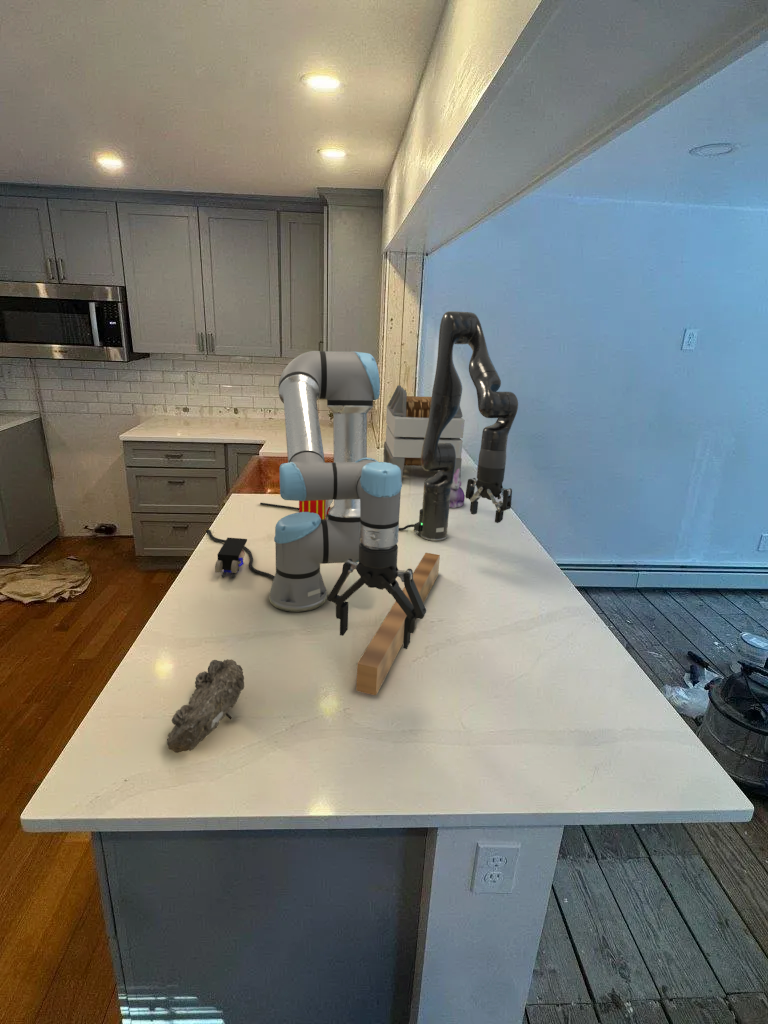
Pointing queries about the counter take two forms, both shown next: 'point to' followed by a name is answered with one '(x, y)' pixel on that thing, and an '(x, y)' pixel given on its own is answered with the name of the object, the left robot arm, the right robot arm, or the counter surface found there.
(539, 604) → the counter surface
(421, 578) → the bar
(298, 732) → the counter surface
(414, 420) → the grey crate stand
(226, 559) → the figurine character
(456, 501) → the figurine
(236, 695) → the fossil
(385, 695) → the counter surface
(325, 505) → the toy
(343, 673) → the counter surface
